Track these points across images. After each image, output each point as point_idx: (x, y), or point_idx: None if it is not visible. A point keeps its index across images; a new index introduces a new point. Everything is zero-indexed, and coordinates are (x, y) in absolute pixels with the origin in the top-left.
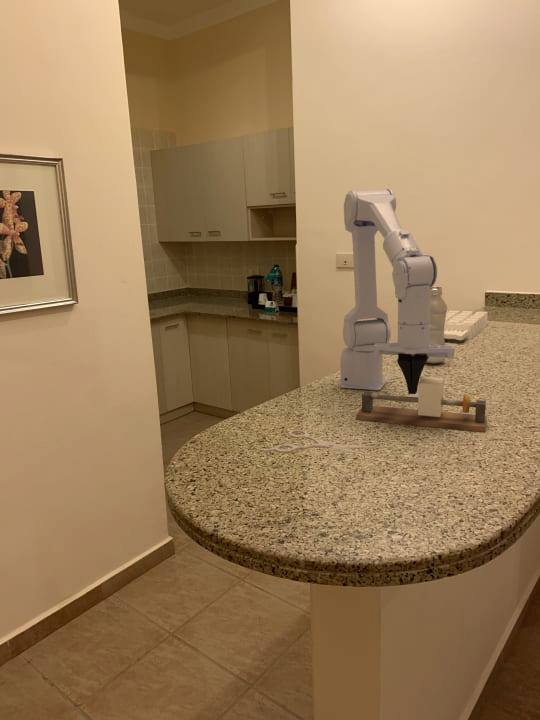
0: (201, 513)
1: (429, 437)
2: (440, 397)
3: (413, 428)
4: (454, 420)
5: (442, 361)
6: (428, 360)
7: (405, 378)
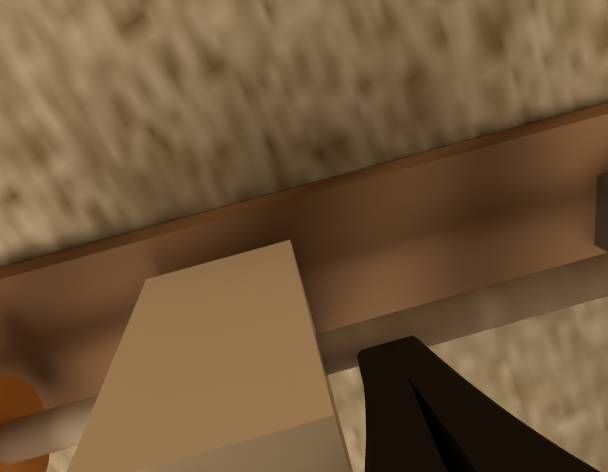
0: None
1: (112, 33)
2: (108, 375)
3: (277, 136)
4: (83, 317)
5: None
6: None
7: (528, 430)
